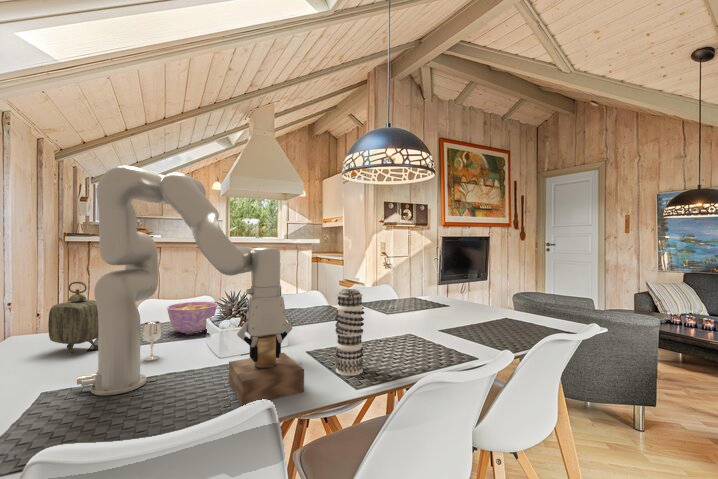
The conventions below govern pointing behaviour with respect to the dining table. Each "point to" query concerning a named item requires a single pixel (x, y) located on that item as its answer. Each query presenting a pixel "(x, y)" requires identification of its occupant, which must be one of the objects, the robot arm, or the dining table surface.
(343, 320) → the patterned tall cylinder
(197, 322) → the bowl of food
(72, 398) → the dining table surface
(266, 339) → the oak peg
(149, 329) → the wineglass
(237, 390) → the socket block
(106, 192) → the robot arm
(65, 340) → the tabletop clock
